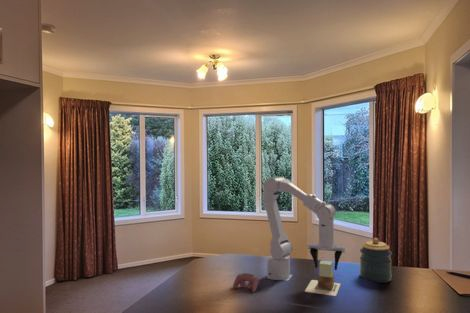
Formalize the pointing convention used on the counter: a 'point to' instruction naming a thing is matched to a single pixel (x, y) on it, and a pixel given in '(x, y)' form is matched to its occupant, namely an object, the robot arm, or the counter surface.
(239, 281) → the video game controller
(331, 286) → the walnut block
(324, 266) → the sage block
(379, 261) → the canister
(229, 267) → the counter surface
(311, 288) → the cream square tray
